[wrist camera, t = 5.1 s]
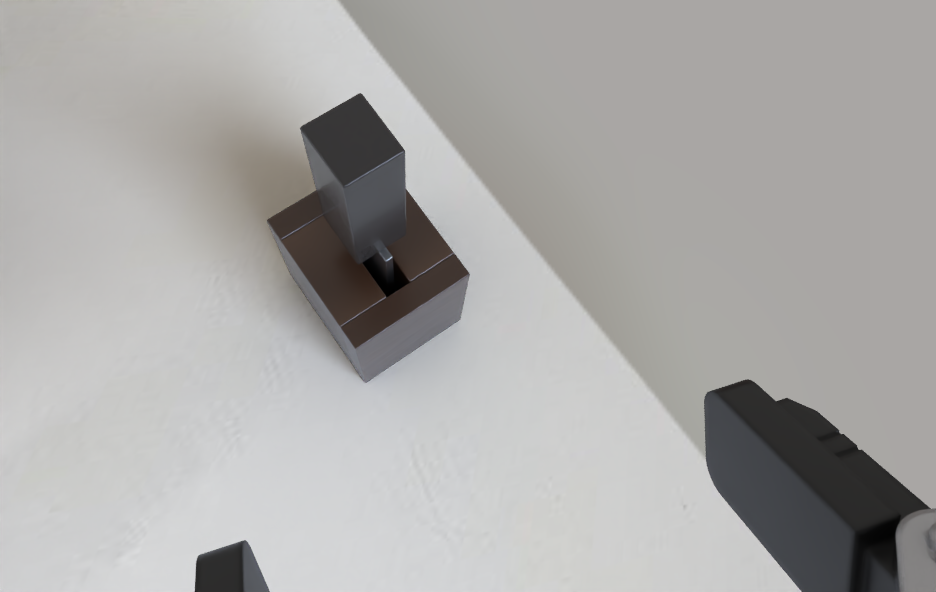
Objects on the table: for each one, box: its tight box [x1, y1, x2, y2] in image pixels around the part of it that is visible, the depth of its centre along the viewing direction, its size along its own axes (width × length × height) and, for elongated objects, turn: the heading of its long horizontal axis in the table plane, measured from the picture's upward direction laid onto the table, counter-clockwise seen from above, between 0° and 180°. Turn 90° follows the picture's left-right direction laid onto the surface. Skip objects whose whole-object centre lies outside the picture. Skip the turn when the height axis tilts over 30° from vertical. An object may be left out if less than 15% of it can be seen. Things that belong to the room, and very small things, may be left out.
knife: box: [300, 93, 406, 298], centre depth 28 cm, size 3×2×14 cm, turn 36°
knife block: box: [267, 190, 470, 383], centre depth 32 cm, size 6×5×6 cm
